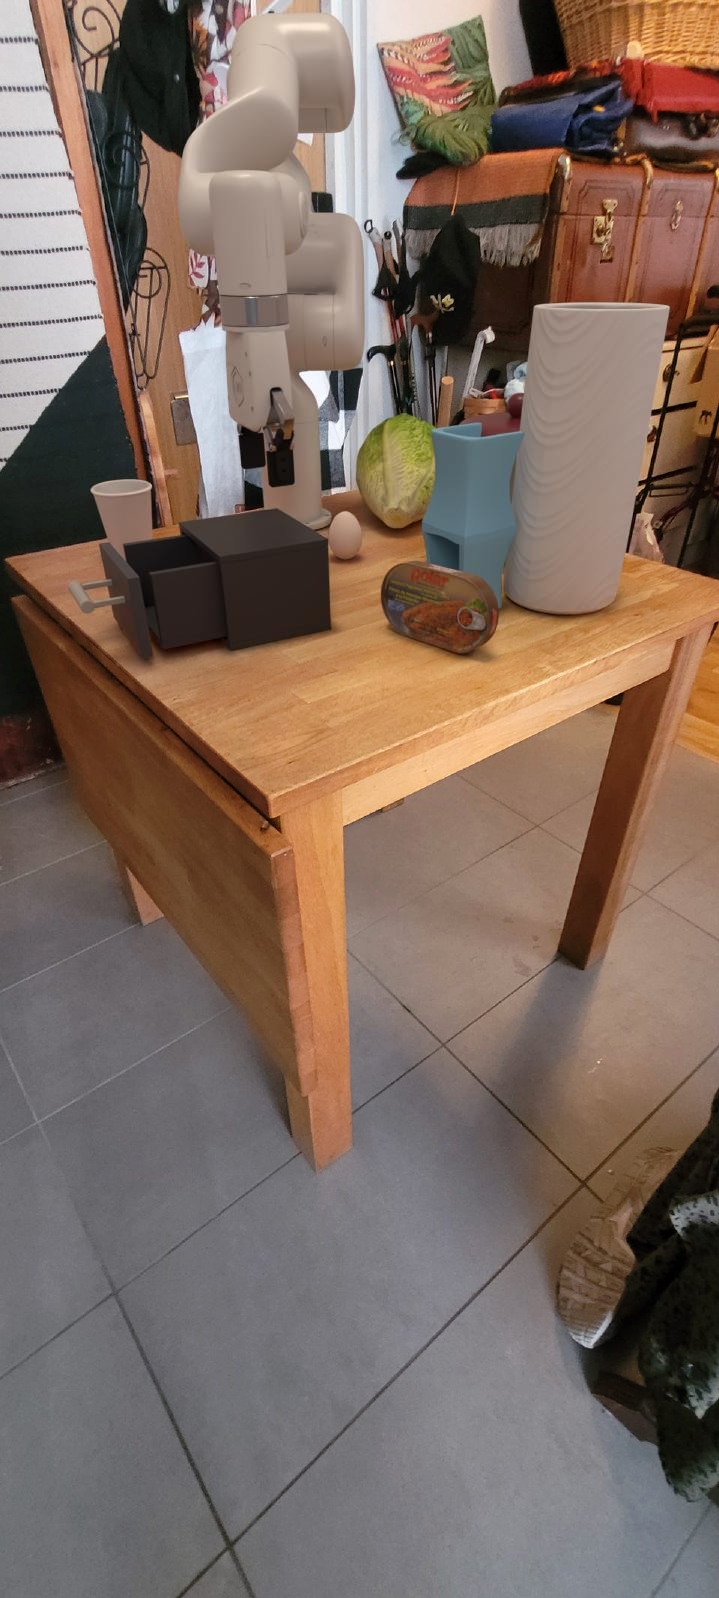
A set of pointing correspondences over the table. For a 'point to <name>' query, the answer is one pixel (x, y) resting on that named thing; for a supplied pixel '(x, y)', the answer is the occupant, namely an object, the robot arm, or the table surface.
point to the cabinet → (267, 575)
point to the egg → (345, 535)
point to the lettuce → (397, 470)
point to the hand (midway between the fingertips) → (267, 476)
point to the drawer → (160, 592)
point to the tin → (439, 606)
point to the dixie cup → (125, 511)
